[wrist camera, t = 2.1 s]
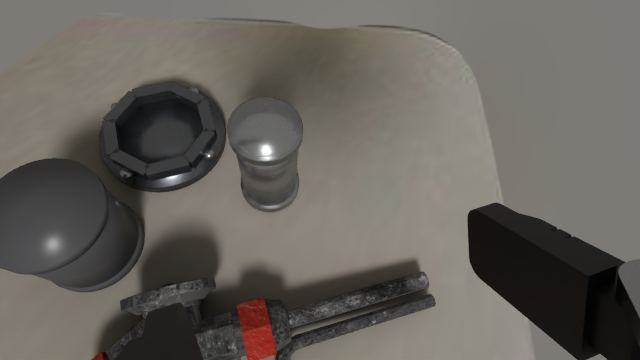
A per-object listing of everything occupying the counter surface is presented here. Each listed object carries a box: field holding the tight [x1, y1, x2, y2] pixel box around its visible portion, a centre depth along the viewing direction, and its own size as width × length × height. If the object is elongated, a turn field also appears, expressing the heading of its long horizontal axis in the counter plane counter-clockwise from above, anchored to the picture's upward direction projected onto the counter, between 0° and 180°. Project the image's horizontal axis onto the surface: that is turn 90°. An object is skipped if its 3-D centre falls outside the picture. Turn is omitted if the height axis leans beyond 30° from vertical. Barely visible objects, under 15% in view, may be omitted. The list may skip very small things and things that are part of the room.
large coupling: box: [0, 158, 144, 292], centre depth 28 cm, size 8×8×8 cm
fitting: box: [227, 97, 303, 212], centre depth 30 cm, size 5×5×10 cm
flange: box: [99, 82, 226, 192], centre depth 35 cm, size 11×11×2 cm
